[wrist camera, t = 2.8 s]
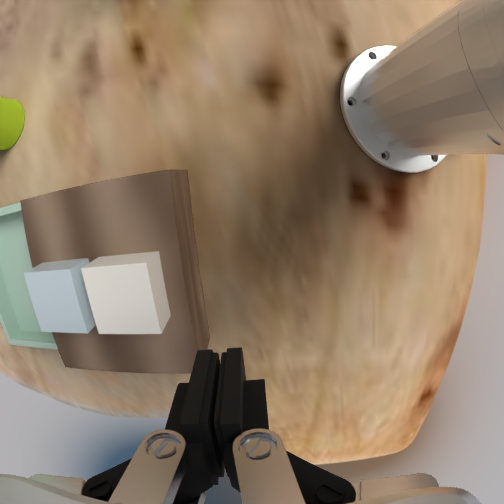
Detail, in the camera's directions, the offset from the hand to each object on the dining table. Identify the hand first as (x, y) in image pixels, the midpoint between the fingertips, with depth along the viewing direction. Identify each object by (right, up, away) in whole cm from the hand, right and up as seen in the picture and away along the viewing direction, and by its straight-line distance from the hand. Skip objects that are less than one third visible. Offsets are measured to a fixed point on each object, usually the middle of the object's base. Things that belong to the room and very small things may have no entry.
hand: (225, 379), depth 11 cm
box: (-24, +2, +16) cm, 29 cm away
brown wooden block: (-11, +4, +16) cm, 20 cm away
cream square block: (-8, +2, +10) cm, 13 cm away
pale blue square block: (-14, +2, +10) cm, 17 cm away
